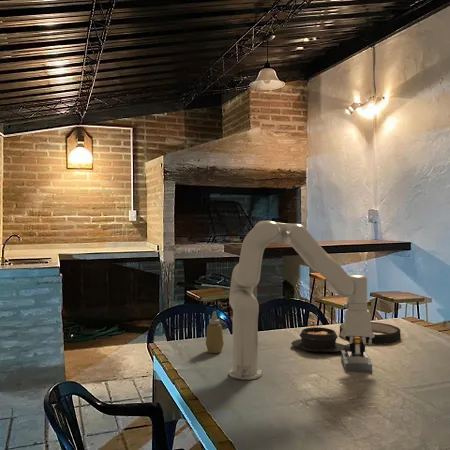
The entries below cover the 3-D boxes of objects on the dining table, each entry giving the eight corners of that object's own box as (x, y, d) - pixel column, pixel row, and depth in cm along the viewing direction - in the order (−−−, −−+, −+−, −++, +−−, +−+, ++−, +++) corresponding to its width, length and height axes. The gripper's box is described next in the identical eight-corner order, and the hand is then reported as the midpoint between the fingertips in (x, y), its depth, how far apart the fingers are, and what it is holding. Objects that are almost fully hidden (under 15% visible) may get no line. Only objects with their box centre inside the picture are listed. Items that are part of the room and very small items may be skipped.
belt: (332, 340, 224) (332, 330, 223) (346, 327, 250) (346, 318, 250) (396, 348, 210) (396, 337, 210) (404, 333, 236) (403, 323, 236)
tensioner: (372, 372, 177) (372, 355, 177) (345, 371, 178) (345, 354, 178) (365, 358, 194) (365, 342, 194) (341, 357, 196) (341, 341, 196)
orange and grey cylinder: (361, 362, 180) (361, 339, 180) (353, 361, 180) (353, 338, 180) (360, 359, 183) (360, 337, 182) (353, 359, 183) (352, 336, 183)
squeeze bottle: (224, 349, 209) (224, 310, 209) (222, 354, 201) (222, 313, 201) (207, 349, 210) (206, 309, 210) (204, 354, 202) (204, 313, 202)
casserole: (284, 350, 206) (284, 332, 206) (299, 341, 223) (299, 323, 222) (340, 358, 194) (340, 339, 194) (351, 348, 210) (351, 329, 210)
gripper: (336, 307, 179) (336, 355, 179) (380, 308, 176) (380, 356, 176) (335, 304, 186) (335, 349, 186) (377, 305, 183) (377, 351, 184)
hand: (357, 352), depth 181 cm, fingers closed on orange and grey cylinder, 3 cm apart
